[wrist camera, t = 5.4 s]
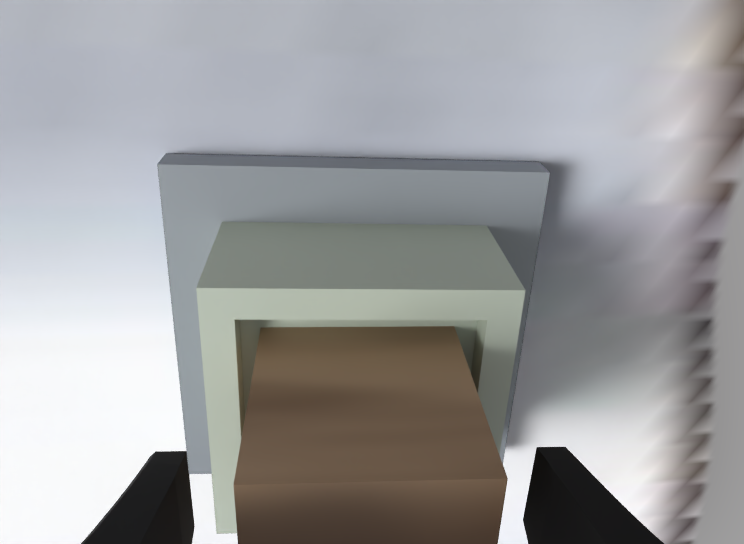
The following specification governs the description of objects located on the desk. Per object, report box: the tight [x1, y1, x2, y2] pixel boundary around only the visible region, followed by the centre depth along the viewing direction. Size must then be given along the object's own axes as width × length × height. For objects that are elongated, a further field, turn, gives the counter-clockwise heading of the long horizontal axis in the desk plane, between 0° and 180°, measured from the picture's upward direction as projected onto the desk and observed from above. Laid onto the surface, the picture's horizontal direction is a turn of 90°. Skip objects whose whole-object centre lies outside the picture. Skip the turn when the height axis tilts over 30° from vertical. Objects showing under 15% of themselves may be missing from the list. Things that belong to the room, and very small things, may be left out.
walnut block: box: [233, 326, 508, 544], centre depth 14 cm, size 4×4×5 cm
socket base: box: [157, 154, 550, 534], centre depth 18 cm, size 10×10×5 cm
